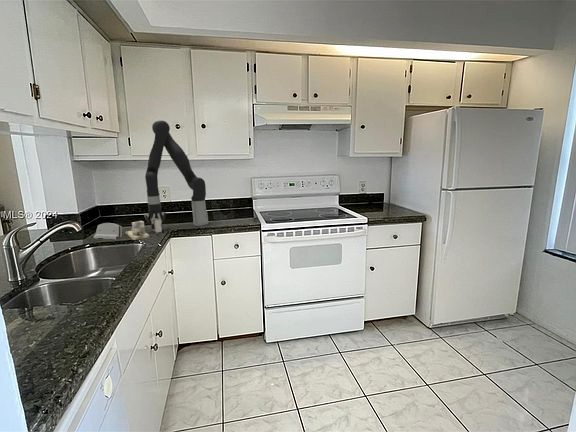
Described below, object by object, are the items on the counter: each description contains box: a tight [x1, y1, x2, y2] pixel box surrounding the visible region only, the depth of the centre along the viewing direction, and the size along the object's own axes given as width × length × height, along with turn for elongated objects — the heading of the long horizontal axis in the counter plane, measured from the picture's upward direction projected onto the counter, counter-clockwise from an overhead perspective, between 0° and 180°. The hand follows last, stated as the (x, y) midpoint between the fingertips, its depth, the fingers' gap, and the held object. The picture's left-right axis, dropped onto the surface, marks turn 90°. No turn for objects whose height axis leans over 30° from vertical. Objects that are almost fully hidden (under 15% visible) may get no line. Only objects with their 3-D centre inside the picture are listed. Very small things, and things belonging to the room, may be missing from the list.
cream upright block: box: [152, 218, 163, 234], centre depth 207 cm, size 6×4×8 cm, turn 39°
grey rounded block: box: [93, 222, 123, 240], centre depth 195 cm, size 17×5×10 cm, turn 76°
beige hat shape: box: [124, 220, 150, 241], centre depth 197 cm, size 9×20×10 cm, turn 39°
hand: (156, 228), depth 207 cm, fingers closed on cream upright block, 4 cm apart
